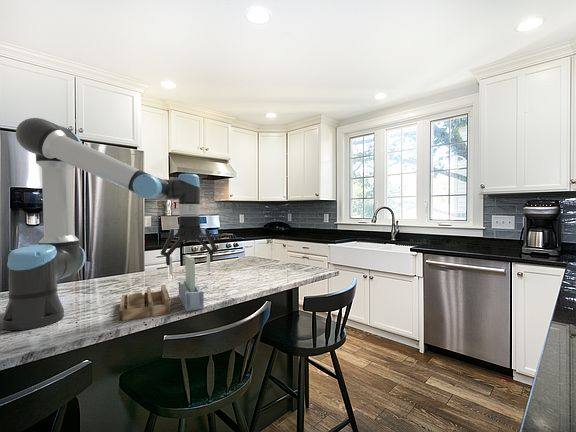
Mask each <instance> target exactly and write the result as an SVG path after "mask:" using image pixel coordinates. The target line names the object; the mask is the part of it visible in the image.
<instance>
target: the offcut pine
mask: <svg viewBox="0 0 576 432" xmlns="http://www.w3.org/2000/svg"><path fill="white" fill-rule="evenodd" d="M145 292H146V291H145V290H139V291H130V292H129V293H128V294H136V293H142V294H143V295H144V305H145V304H146V301H145ZM128 301H129V295H128V296H127V303H126V305H127V304H128Z"/></svg>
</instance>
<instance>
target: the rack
mask: <svg viewBox="0 0 576 432" xmlns="http://www.w3.org/2000/svg"><path fill="white" fill-rule="evenodd" d="M128 295H129V293H128V294H122V295H121V299H120V303H119V305H120V306H119V311H118V314H119V317H118V318H119V319H118V320H119V321H120V322H121V321H127V320H135V319H141V318H149V317H155V316H163V315H168V314H169V315H170V314H171V297H170V295H169V292H168V288H167V287H166V285H161V286H160V290H156V291H151V286H147V287H146V291H145V302H147V306H144V307H141V308H134V309H127V308H125V307H126V304H127V296H128ZM156 300H161V302H162V304H157V305H153V301H156Z"/></svg>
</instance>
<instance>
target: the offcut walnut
mask: <svg viewBox="0 0 576 432" xmlns="http://www.w3.org/2000/svg"><path fill="white" fill-rule="evenodd" d="M128 294H129V293H128ZM129 303H130V305H131V306H133V305H139V304H144V295H143V294H142V293H136V294H129ZM144 305H145V304H144Z"/></svg>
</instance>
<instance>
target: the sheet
mask: <svg viewBox="0 0 576 432" xmlns="http://www.w3.org/2000/svg"><path fill="white" fill-rule="evenodd" d="M184 257H185V258H184V259H185V260H184V261H185V263H184V264H185V265H184V266H185V281H186V287H187V289H188V291H189V292H190V293H191V292H195V283H196V273H195V272H196V266H195V265H196V264H195V263H196V262H195V261H196V260H195V258H194V257H193V256H192V255H191V254H185V256H184Z"/></svg>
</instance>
